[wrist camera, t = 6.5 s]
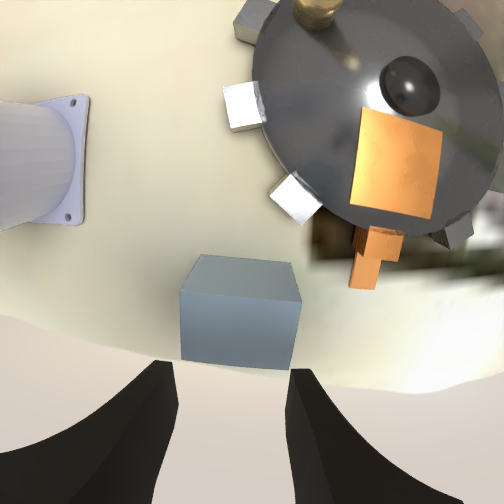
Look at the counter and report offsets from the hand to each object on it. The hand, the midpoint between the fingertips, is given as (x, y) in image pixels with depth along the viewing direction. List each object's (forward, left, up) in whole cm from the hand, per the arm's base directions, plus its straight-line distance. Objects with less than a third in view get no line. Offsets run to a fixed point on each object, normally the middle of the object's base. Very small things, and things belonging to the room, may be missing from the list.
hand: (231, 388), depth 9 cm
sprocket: (+7, +12, -8) cm, 16 cm away
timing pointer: (+7, +2, -8) cm, 11 cm away
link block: (0, 0, -8) cm, 8 cm away
